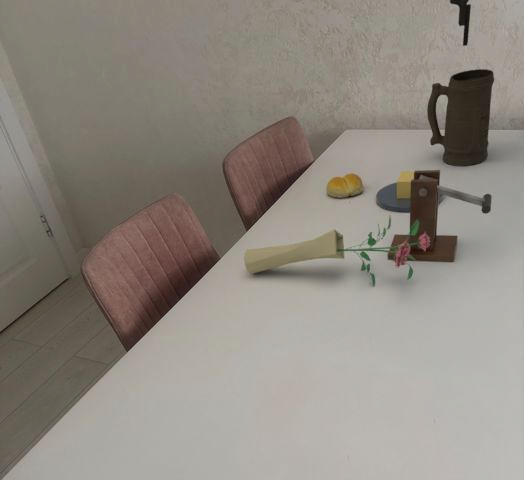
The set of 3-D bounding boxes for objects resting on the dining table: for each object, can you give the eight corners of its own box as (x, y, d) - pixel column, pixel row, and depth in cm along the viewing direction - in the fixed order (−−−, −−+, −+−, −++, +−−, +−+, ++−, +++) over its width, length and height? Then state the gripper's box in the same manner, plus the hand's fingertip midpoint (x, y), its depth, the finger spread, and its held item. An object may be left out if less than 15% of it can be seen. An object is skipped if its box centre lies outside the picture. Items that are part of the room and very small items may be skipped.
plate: (446, 184, 118) (446, 179, 117) (439, 212, 108) (440, 207, 107) (382, 185, 124) (382, 180, 123) (370, 212, 113) (370, 207, 113)
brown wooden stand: (457, 241, 98) (463, 166, 88) (453, 262, 92) (460, 184, 83) (394, 239, 102) (394, 168, 93) (387, 259, 97) (387, 185, 87)
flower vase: (273, 293, 108) (442, 267, 91) (247, 311, 98) (432, 286, 81) (259, 240, 104) (432, 202, 87) (231, 252, 94) (421, 212, 77)
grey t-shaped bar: (488, 204, 90) (494, 192, 88) (487, 217, 86) (493, 204, 84) (417, 183, 92) (421, 171, 90) (413, 195, 88) (418, 182, 87)
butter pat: (401, 187, 118) (401, 171, 115) (420, 187, 116) (420, 170, 114) (396, 198, 114) (396, 181, 111) (416, 198, 112) (417, 181, 110)
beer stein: (492, 150, 129) (497, 64, 117) (488, 165, 122) (492, 76, 110) (431, 155, 136) (429, 74, 124) (423, 170, 129) (420, 86, 117)
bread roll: (324, 189, 128) (323, 173, 125) (359, 183, 127) (359, 167, 125) (329, 201, 121) (328, 185, 119) (366, 195, 121) (365, 179, 118)
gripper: (604, -123, 82) (574, 27, 95) (444, -89, 91) (437, 43, 105) (609, -124, 77) (578, 35, 90) (439, -88, 86) (433, 51, 99)
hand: (502, 40), depth 97 cm, fingers open, 13 cm apart
